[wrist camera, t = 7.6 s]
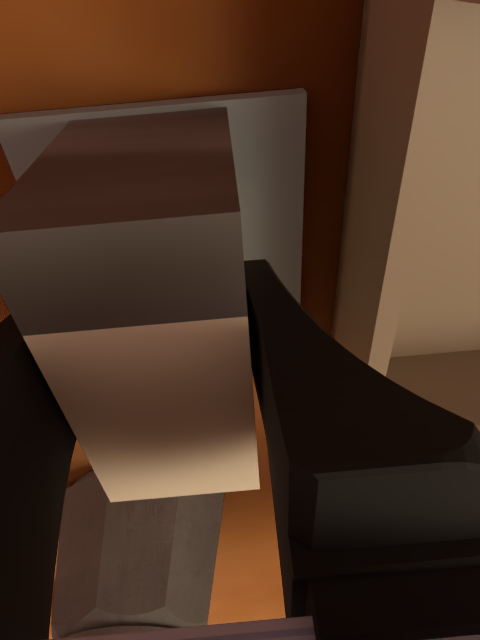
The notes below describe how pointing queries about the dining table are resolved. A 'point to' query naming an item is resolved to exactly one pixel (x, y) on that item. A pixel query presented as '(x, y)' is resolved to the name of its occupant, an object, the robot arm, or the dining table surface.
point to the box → (139, 299)
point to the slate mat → (248, 153)
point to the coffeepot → (133, 561)
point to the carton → (415, 202)
